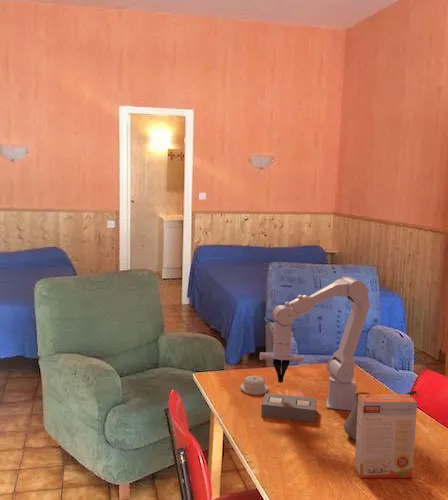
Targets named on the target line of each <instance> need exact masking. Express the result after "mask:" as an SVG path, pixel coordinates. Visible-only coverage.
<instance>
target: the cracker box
mask: <svg viewBox="0 0 448 500" xmlns="http://www.w3.org/2000/svg"><path fill="white" fill-rule="evenodd" d="M417 406H418V402H417V401H416V399H415V398H414V397H413V396H410V395H409V394H407V393H401V394H399V393H398V394H397V393H396V394H395V393H391V394H390V393H389V394H388V393H386V394H385V393H384V394H383V393H379V394H378V393H377V394H376V393H375V394H374V393H370V394H358V410H357V431H356V441H355V453H354V456H355V457H354V469H355V471H356V473H357V475H358V477H359V478H360V479H413V472H414V471H413V470H414V457H415V444H416V443H415V441H416V428H417V427H416V425H417V412H418V411H417V410H418V407H417Z"/></svg>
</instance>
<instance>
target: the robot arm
mask: <svg viewBox="0 0 448 500" xmlns="http://www.w3.org/2000/svg"><path fill="white" fill-rule="evenodd" d="M334 297H343V298H347V300H348V302H349V304H350V305H351V310H350V312H349V316H348V318H347V322H346V324H345V328H344V331H343V334H342V337H341V340H340V344H339V346H338V348H337V350H336V351H334V352H333V354H332V356H331V358H330V359H329V360H328V362H327V364H326V369H327V371H328V373H329V377H328V393H327V396H328V397H327V398H326V409H335V410H344V411H350V412H351V411H352V409H353V407H354V405H355V403H356V398H355V396H354V395H355V394H356V393H357V385H358V384H357V381H355V380H354V381H353V379H354V378H355V367H356V361H355V358H354V356H355V353H356V349H357V346H358V344H359V340H360V337H361V335H362V331H363V328H364V325H365V322H366V318H367V316H368V313H369V309H370V299H369V288H368V287H367V285H366V283H365V282H363V280H358V279H355V278H354V277H352V276H350V275H345V276H343V277H341V278H339V279H336V280H335V281H333V282H332V283H331V284H329V285H326V286H324V287H322V288H321V289H319V290H318V291H316V292H314V293H313V294H311V295H306V294H303V295H302V294H299V295H297V297H296V298H295V299H292V300H291V301H286V302H284V304H280V305H276V306H275V308H274V309H273V311H272V313H271V317H272V319H274V326H273V327H274V328H273V344H272V346H273V349H272V350H273V351H270V352H269V351H268V352H264V351H261V352H259V360H260V361H262V360H263V361H264V360H270V361H272V362H273V363H272V366H273V367H274V370H275V372H276V375H277V382H278V383H283V382H284V377H285V374H286V371H287V370H288V368H289V366H290V362H294V363H300V364H304V361H305V355H302V354H295V353H291V351H292V350H291V349H292V347H291V346H292V324H293V323H294V322H295V319H298V318H300V317H302V316H303V315H305V314H307V313H310V312H312V311H313V310H314V306H315V305H318V304H320V303H322V302H325V301H326V300H329V299H331V298H334Z"/></svg>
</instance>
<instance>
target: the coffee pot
mask: <svg viewBox="0 0 448 500" xmlns="http://www.w3.org/2000/svg"><path fill="white" fill-rule="evenodd" d="M358 394H371V393H370V392H364V391H362V392H361V391H359V392H356V394H355V395H354V396H355V398H356V403H355V405H354V407H353V409H352V411H351V410H350V412H349V415H347V418H346V420H345V421H344V424H343V429H344V431H345V433H346V434H347V435H348V436H349V438H350V439H352V440H353V441H355V442H356V431H357V410H358ZM406 394H409V395H410V396H411V395H415V396H416V397H417V398H419V394H418V393H417V390H413V391H411V392H409V391H408V392H407V393H406ZM411 397H412V396H411Z"/></svg>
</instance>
